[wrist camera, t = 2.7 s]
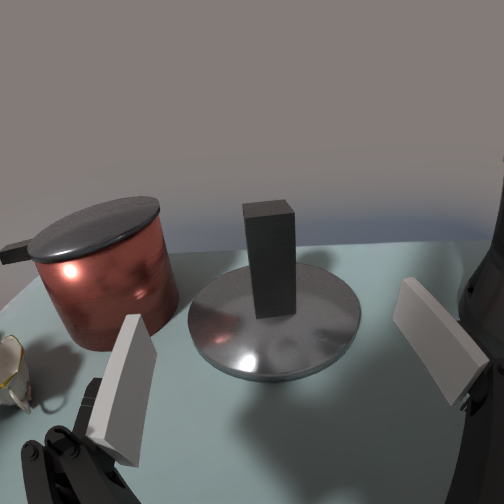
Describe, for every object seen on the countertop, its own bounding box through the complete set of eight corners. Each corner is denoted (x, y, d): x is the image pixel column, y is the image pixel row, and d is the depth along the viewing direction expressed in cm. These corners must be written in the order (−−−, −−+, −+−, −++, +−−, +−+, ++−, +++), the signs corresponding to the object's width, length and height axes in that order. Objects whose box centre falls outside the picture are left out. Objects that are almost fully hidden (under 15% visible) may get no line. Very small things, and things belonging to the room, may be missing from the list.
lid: (327, 264, 37) (328, 179, 32) (385, 360, 21) (417, 238, 15) (197, 281, 36) (180, 195, 31) (183, 392, 20) (134, 274, 15)
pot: (188, 268, 39) (171, 189, 34) (170, 353, 24) (131, 240, 19) (52, 283, 38) (29, 221, 33) (6, 345, 23) (-34, 270, 18)
